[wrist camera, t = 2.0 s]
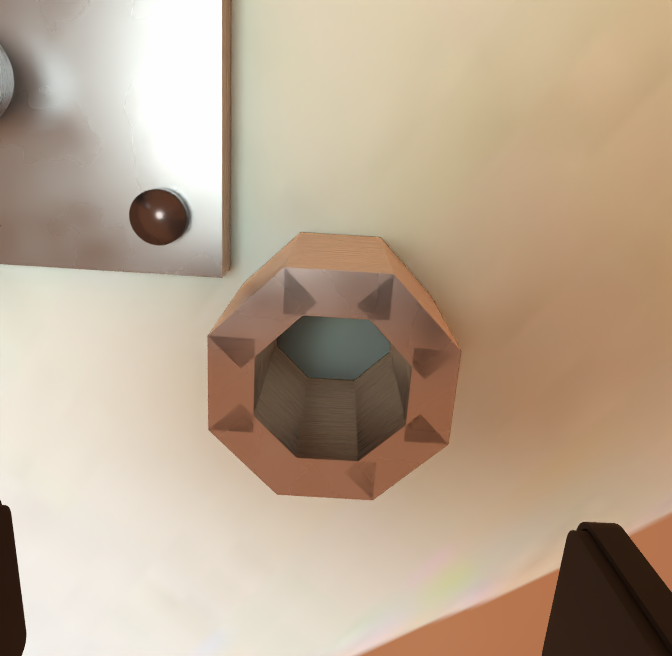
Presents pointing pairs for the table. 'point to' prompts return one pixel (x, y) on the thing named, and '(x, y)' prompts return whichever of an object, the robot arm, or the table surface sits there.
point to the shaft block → (116, 135)
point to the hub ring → (332, 394)
